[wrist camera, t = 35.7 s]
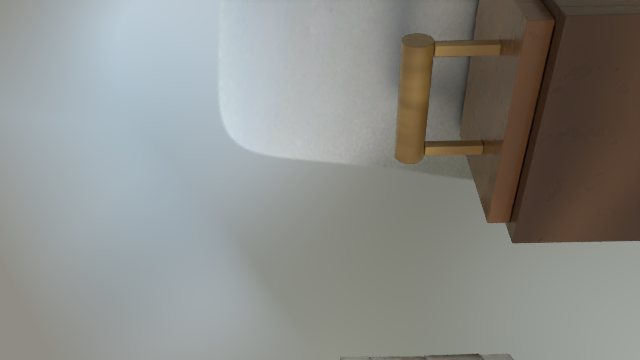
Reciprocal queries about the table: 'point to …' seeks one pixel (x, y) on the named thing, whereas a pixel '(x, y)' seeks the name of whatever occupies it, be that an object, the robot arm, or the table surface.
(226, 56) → the table surface
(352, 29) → the table surface
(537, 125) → the cabinet
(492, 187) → the drawer
